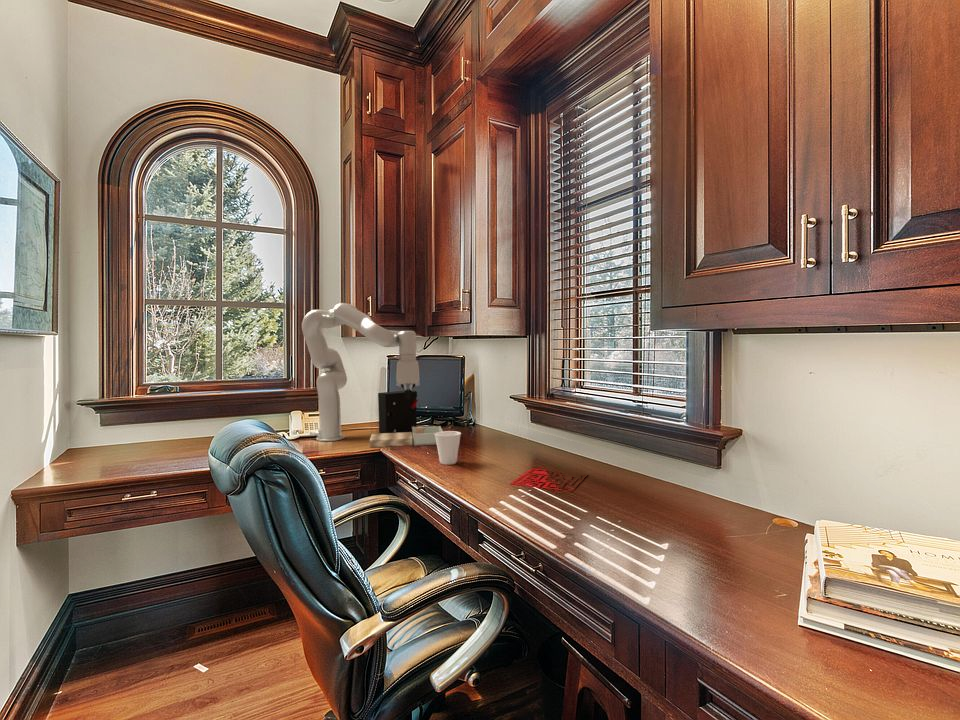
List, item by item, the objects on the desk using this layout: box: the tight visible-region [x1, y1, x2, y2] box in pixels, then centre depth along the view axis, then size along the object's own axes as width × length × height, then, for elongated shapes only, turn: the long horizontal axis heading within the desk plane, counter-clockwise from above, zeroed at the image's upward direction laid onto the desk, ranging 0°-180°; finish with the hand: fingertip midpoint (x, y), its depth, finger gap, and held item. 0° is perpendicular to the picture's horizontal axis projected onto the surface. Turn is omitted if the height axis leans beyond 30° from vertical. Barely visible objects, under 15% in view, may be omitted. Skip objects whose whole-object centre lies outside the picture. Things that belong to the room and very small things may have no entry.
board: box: [369, 432, 414, 448], centre depth 224 cm, size 18×15×3 cm
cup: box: [434, 430, 462, 466], centre depth 186 cm, size 10×10×11 cm
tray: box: [411, 425, 444, 447], centre depth 227 cm, size 13×17×5 cm
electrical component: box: [377, 389, 419, 434], centre depth 248 cm, size 18×10×20 cm, turn 128°
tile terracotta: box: [417, 425, 424, 434], centre depth 230 cm, size 5×5×3 cm
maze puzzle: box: [509, 468, 574, 492], centre depth 163 cm, size 20×20×1 cm
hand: (408, 398), depth 229 cm, fingers closed
